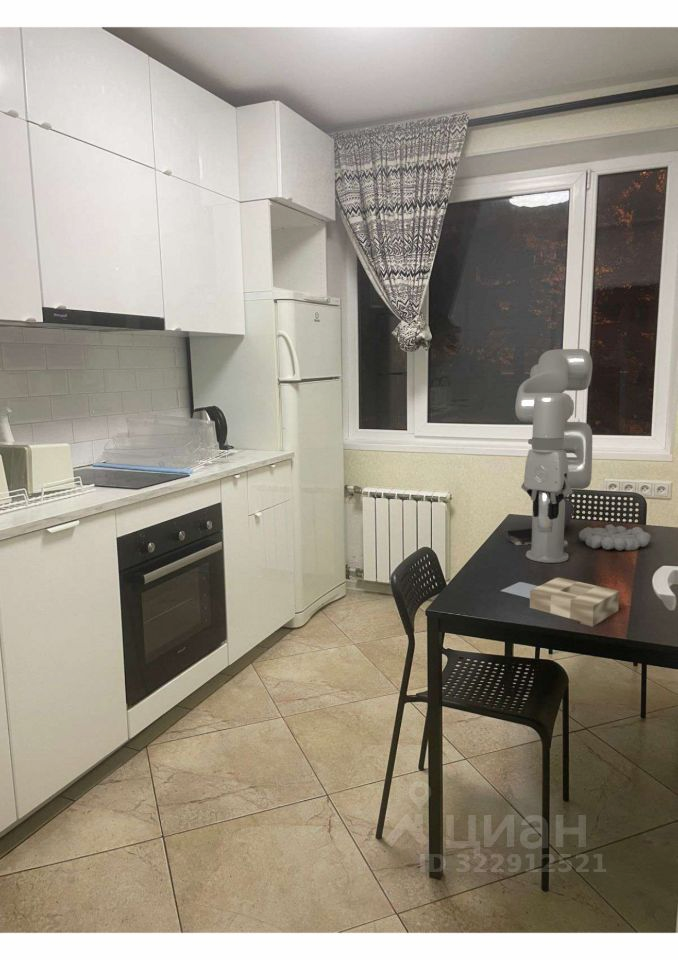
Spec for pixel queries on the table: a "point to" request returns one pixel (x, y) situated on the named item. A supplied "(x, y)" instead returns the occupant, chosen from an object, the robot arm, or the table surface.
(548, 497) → the peg
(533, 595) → the hole block
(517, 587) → the mat
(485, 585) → the table surface
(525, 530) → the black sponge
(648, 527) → the table surface
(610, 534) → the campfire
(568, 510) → the bluetooth speaker
